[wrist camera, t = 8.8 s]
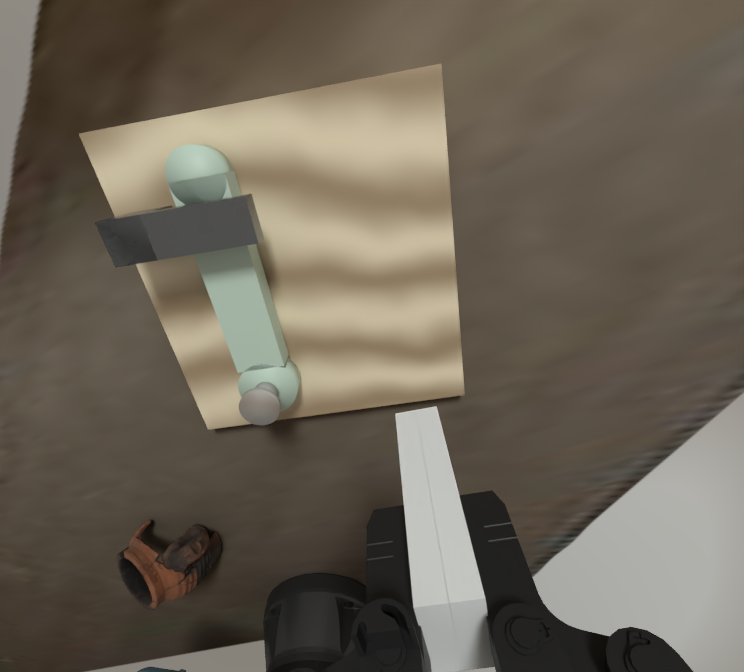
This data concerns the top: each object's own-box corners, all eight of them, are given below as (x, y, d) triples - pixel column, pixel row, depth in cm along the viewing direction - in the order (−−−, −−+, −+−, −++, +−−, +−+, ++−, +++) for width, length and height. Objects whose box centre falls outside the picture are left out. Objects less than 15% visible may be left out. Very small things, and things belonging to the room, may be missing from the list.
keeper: (273, 230, 30) (258, 243, 26) (149, 251, 30) (115, 267, 26) (262, 189, 28) (244, 195, 24) (133, 212, 29) (94, 222, 25)
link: (306, 395, 36) (303, 408, 34) (254, 403, 36) (248, 416, 34) (232, 138, 27) (221, 137, 25) (162, 151, 27) (147, 152, 25)
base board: (461, 386, 38) (478, 430, 32) (213, 419, 39) (185, 468, 33) (437, 67, 26) (457, 44, 20) (92, 134, 28) (18, 130, 22)
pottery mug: (207, 569, 51) (146, 626, 44) (167, 509, 52) (101, 555, 45) (248, 546, 44) (183, 608, 37) (201, 477, 45) (130, 525, 38)
